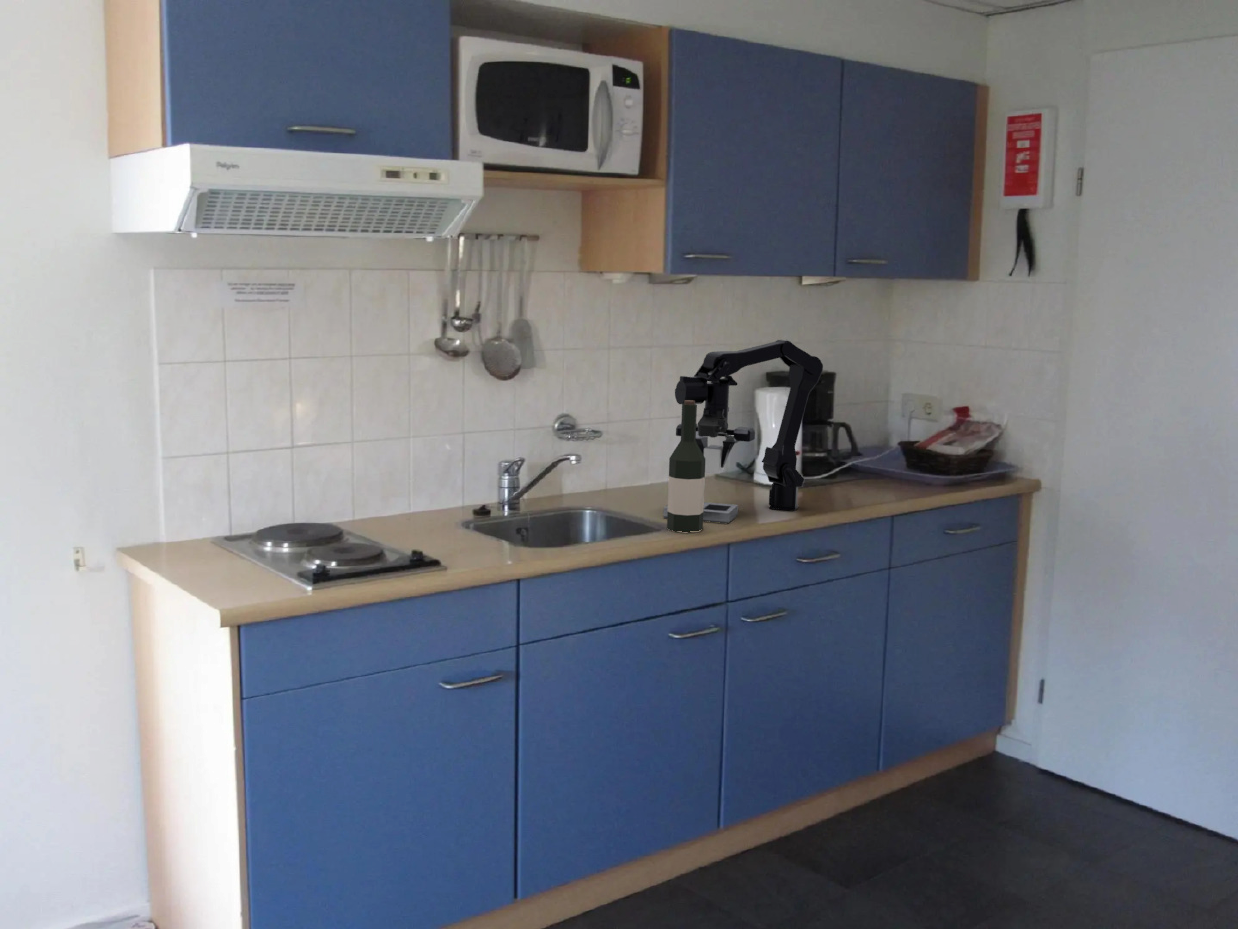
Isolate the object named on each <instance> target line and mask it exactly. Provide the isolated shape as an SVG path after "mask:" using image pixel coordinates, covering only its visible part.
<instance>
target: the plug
mask: <svg viewBox="0 0 1238 929" xmlns="http://www.w3.org/2000/svg"><path fill="white" fill-rule="evenodd" d="M722 451H723V445H715V444H710V445H708V447H706V448H704V457H705V474H716V475H718V474H719V475H720V474H721V473H723V472H725V466H724V467H723V468H721V458H722Z"/></svg>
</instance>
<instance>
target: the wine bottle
mask: <svg viewBox="0 0 1238 929" xmlns="http://www.w3.org/2000/svg"><path fill="white" fill-rule="evenodd" d="M697 407H698V404H695V401H693V400H685V401H684V404H681V421H680V422H681V423H680V424H681V436H680V441H679V442H678V444H677V446H676V447H675V449H674V450H673V452H672V453H671V455H670V456H669V459H668V461H669V463H668V464H669V465H668V488H667V490H668V491H667V493H668V494H667V496H668V497H667V505H668V513H667V518H666V529H667V528H668V529H670V530H673V531H682V532H690V531H699V530H701V529H703V530H704V522H703V509H704V502H705V483H706V482H705V479H706V478H705V477H706V473H705V457H704V455H703V453H702V452H701V450H700V448H699V446H698V444H697V442H696V424H697V412H698V411H697V409H698V408H697ZM668 529H667V530H668ZM670 530H669V531H670ZM701 531H702V530H701Z"/></svg>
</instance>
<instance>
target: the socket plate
mask: <svg viewBox="0 0 1238 929" xmlns="http://www.w3.org/2000/svg"><path fill="white" fill-rule="evenodd" d="M667 513H668V504H667V505H665V506H664V507H663V512H662V515H663V516H662V517H664V518H663V519H667ZM737 515H738V516H739V504H732V503H731V504H730V503H721V502H720V503H719V502H706V501H704V509H703V521H710V522H709V523H711V522H720V523H719V524H722V523H729V522H730V521H731V522H732V521H733V520H734V519H735V518H737V517H736V516H737ZM731 522H730V523H731ZM730 523H729V524H730Z"/></svg>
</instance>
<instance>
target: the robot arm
mask: <svg viewBox="0 0 1238 929" xmlns="http://www.w3.org/2000/svg"><path fill="white" fill-rule="evenodd" d="M777 359H780V360H781V361H782V362H783V364H784V365H786V366H787V367H788V368H789V370H788V380H789V386H790V387H789V388H790V389H789V393H788V396H787V399H786V400H787V401H786V404H785V408H784V412H783V416H782V419H781V423H780V426H779V431H778V435H777V438H776V441H775V443H774V445H772V446H771V447H768V446H767V447H766V448H765V449H764V456H763V458H762V460H761V463H763V465H762V469H763V471H764V473H765V475H766V476H767V479H768V482H769V483H772V484H771V488H770V489H769V491H768V492H769V493H768V494H769V495H768V496H769V497H768V505H769V507H768V508H769V509H770V510H778V509H780V510H781V511H790V510H791V511H792V512H795V511H796V510H797V509H798V508H799V504H798V501H799V500H798V496H799V488H801V487H802V486H803V484H804V481H805V478H804V477H803V475H801V473H800V472H799V471H798V470H797V463H798V462H797V460H798V458H797V457H798V456H797V453H796V452H797V451H796V444H797V441H798V438H799V433H800V429H801V425H802V421H803V418H804V414H805V410H806V406H807V403H808V399H809V397H810V396H809V395H810V393H811V392H812V390H813V389H814V388H815V386H816V385H817V384H818V383H819V380H820V378H821V375H822V374H823V370H824V364H823V363H822V360H821V359H820V358H819V357H818V356H814V355H811V354H809V353H808V352H806V351H804V350H803V349H801V348H799V347H798V346H796V345H795V344H794V343H792V342H791V341H790V340H787V339H786V340H784V339H777V340H775V341H772V342H769V343H768V342H767V343H764V344H761V345H756V346H752V347H747V348H744V349H741V350H733V351H732V350H729V351H728V350H723V351H721V350H720V351H719V350H718V351H711V352H708V353H707V354H706V355H705V357H704V359H703V362H702V364H701V366H700V367H699V368H698V370H697V371H696V373H695V374H694V375H693V376H686V375H680V376H679V381H678V382H677V384H676V387H675V388H674V397H675V401H676V403H677V404H678V405H682V404H684V401H685V400H693V401H695V404H696V405H703V403H704V408H703V413H702V415H701V418H700V419H699V420H698V422H697V423H696V442H697V444H698V446H699V448H700V450H701V452H702V453H703V455H704V448H706V447H708V446H709V442H708V441H709V440H708V438H709V437H710V438H714V439H715V438H717V437H725V439H724V440H722V446H723V451H722V458H721V468H723V467H724V468H725V466H726V462H727V460H728V458H729V455H730V453H731V451H732V449H733V447H734V445H735V444H737V443H739V442H744V443H745V442H746V443H747V442H751V441H753V440H755V437H756V432H755V429H754V428H753V427H746V426H738V427H736V428H734V429H729V424H728V423H729V421H728V420H729V419H728V418H729V412H730V407H729V400H730V396H729V395H730V386H731V387H733V386H738V382H737V381H736V380H735V379H734V378H733V376H732V375H734V374H735V373H737V372H739V371H741V370H742V369H744V368H745V367H748V366H753V365H756V364H757V365H758V364H760V363H764V362H769V361H772V360H777ZM675 436H676V437H681V423H679V424H678V425H676V427H675Z"/></svg>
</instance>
